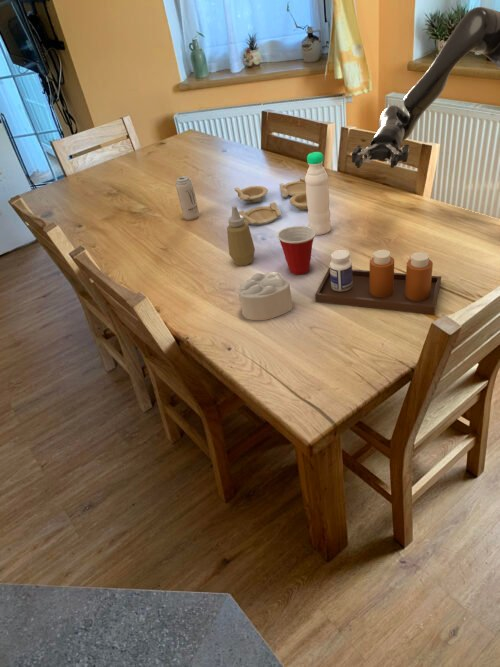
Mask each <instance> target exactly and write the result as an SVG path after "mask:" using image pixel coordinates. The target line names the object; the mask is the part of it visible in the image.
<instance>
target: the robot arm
mask: <svg viewBox="0 0 500 667" xmlns="http://www.w3.org/2000/svg"><path fill="white" fill-rule="evenodd" d="M470 52H472V53H477V54H481V55H483V56H485V57H486V58H488V59H489V60H490V61H491V63H493V64H495V66H496V67H497V69H499V70H500V11H498V10H495V9H493V8H489V7H484V6H476V7H474V8H472V9H470V10H469V11H468V12H466V13H465V15H463V17H462V18H461V20H460V21H459V22H458V23H457V25H456V27H455V28H454V30H453V31H452V33H451V34H450V35H449V37H448V39H447V40H446V42H445V44H444V45H443V46H442V48H441V50H440V51H439V52H438V54H437V56H436V57H435V59H434V60H433V62H432V63H431V64H430V65H429V67H428V69H427V70H426V72H424V74H423V75H422V76H421V77H420V79H419V80H418V81H417V82H416V83H415V84H414V86H413V87H411V89H410V90H409V91H408V92H407V94H406V95H405V96H404V98H403V105H404V108H405V109H406V111H407V112H408V113H406V112H405V111H404V110H403V109H402V108H401V107H399V106H398V105H395V104H394V105H393V104H392V105H389V106H387V107H386V108H384V110H383V111H382V113H381V115H380V116H379V119H378V130H377V131H376V133H375V135H374V136H373V138H372V139H371V142H370V144H369V146H367V147H366V148H363V147H362V145H357V146H356V147H355V148H354V149H353V150H352V151H351V163H353V164H354V166H355V167H356V168H357V169H360V168H361V167H362V166H363V163H370V162H373V161H379V162H390V169H394V168H395V167H397V166H398V165H399V163H400V162H402V163H407V162H408V159H409V154H410V144H404V145H403V146H402V142H403V141H405V140H407V139H408V138H409V137H410V136H411V135H412V133H413V131H414V129H415V128H416V125H417V124H418V121H419V120H420V118H421V117H422V115H423V114H424V113H425V112H426V111H427V109H428V108H429V107H430V106H431V105H433V103H434V102H435V101H436V100H437V99H438V98H439V96H440V95H441V93H442V92H443V91H444V89H445V87H446V85H447V82H448V79H449V77H450V75H451V73H452V71H453V69H454V68H455V66H456V65H457V63H458V62H460V61H461V59H463V58H464V57H465V56H466V55H467V54H468V53H470ZM401 146H402V147H401Z"/></svg>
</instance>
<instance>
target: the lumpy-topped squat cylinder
mask: <svg viewBox="0 0 500 667" xmlns="http://www.w3.org/2000/svg"><path fill="white" fill-rule="evenodd" d="M238 298H239V303H240V308H241V313H242V316H243V317H244V318H245V319H247V320H251V321H267V320H272V319H274V318H277V317H280V316H282V315H284V314H286V313H287V314H288V312H290V311H291V310H292V309H293V300H292V292H291V285H290V282H289V281H288V280H287V279H285V277H284V276H283V274H281V273H280V272H279V271H269V272H265V273H261V272H256V273H254V274H252V276H251V277H250V278H249V279H247V280H246V281H245V282H243V283H242V284H241V285H240V287H239V289H238Z"/></svg>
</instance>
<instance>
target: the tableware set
mask: <svg viewBox="0 0 500 667" xmlns="http://www.w3.org/2000/svg"><path fill="white" fill-rule="evenodd" d="M279 190H280V193H281V199H285V198H287V197H288V196H289V197H290V196H291V197H290V199H289V203H290V204H291V206H293V207H296V208H297V209H298V210H301V211H308V206H307V197H306V182H305V177H300V178H299V180H294V181H290V182H287V183H285V184H284V183H279ZM234 192H236V193H237V197H238V198H239V199H240V201H245V203H247V204H256V203H258V202H261V201H262V200H263V199H264V197H265V196H266V195H268V192H269V188H267V187H266V186H262V185H250V186H246V187H244V188H242V189H240V187H238V186H237V187H234ZM238 212H239V215H241V216H243V217H244V221H245V222H246V223H247V224H248V225H253V226H255V225H258V226H259V225H266V224H269V223H272V222H274V221H276V220H277V219H279V218H281V217H282V213H281V210H280V208H279V207H278V204H277V202H276V201H271V202H270V203H269V205H263V206H257V207H256V206H255V207H253V208H250V209H248V210H247V211H244V210H240V211H238Z"/></svg>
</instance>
